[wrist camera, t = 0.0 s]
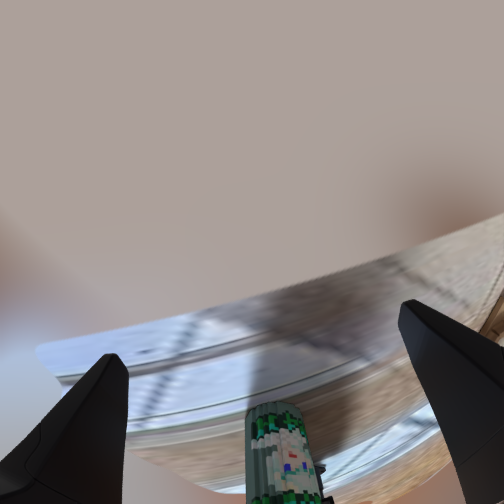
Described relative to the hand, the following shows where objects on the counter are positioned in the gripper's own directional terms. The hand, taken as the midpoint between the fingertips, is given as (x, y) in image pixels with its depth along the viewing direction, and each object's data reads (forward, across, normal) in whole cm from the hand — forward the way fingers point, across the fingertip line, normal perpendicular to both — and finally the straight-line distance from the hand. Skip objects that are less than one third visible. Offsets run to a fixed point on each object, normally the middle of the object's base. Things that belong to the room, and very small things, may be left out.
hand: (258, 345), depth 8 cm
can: (+10, +1, +24) cm, 26 cm away
